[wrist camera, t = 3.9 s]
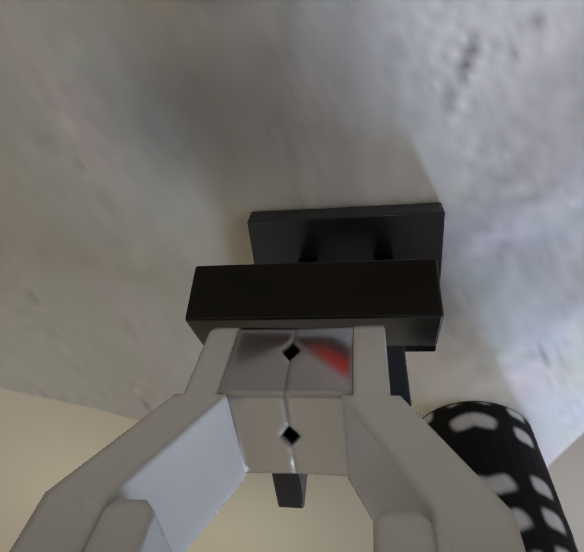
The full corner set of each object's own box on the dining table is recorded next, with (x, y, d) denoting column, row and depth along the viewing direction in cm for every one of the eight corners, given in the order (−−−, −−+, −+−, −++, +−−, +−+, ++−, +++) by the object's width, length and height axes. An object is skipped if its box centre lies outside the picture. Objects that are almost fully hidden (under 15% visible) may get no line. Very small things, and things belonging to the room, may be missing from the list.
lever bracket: (251, 212, 26) (175, 379, 15) (441, 202, 24) (507, 381, 14) (272, 339, 31) (226, 537, 20) (432, 338, 29) (476, 552, 18)
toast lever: (199, 245, 10) (178, 344, 9) (434, 235, 10) (447, 343, 8) (285, 411, 20) (281, 470, 19) (404, 413, 20) (408, 475, 18)
